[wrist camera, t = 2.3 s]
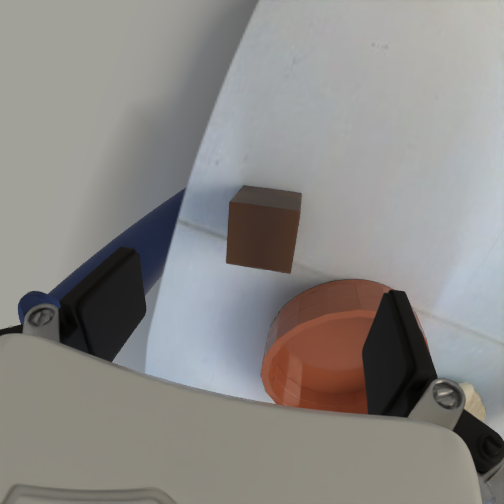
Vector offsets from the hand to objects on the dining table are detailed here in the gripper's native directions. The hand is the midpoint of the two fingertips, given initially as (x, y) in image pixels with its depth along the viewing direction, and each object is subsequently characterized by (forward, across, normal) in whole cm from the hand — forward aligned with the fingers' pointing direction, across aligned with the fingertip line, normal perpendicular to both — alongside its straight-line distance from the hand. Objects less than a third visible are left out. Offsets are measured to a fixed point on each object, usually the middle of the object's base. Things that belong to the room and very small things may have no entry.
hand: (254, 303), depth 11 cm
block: (+14, +1, +2) cm, 14 cm away
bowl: (+14, -8, +14) cm, 21 cm away
